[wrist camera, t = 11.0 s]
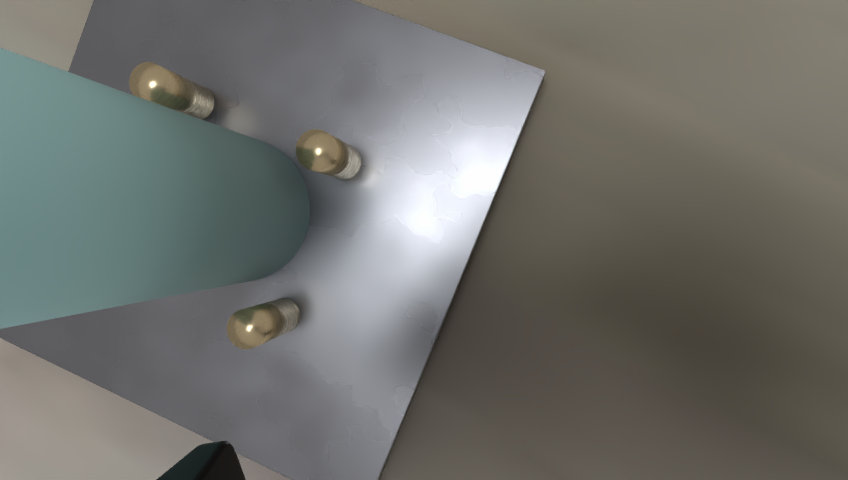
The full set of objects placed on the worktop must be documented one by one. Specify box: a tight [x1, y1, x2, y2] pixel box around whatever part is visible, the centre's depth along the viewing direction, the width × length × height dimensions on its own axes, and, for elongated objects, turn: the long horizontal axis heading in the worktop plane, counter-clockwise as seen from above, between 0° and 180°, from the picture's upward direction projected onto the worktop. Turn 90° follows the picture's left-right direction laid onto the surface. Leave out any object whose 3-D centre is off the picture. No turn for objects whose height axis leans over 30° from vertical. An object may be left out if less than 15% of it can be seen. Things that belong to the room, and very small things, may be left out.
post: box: [0, 48, 310, 329], centre depth 15 cm, size 5×5×13 cm
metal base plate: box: [0, 0, 545, 480], centre depth 20 cm, size 16×16×4 cm
